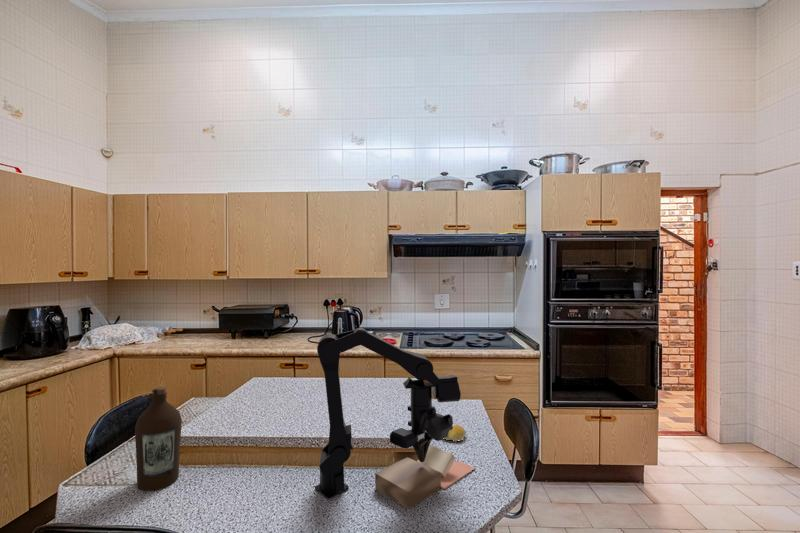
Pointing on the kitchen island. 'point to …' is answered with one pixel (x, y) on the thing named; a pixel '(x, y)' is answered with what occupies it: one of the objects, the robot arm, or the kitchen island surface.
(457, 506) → the kitchen island surface
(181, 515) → the kitchen island surface
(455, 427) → the bread roll
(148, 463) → the olive oil
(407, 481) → the panel
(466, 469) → the mat
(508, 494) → the kitchen island surface
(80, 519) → the kitchen island surface
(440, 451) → the cream rectangular block
